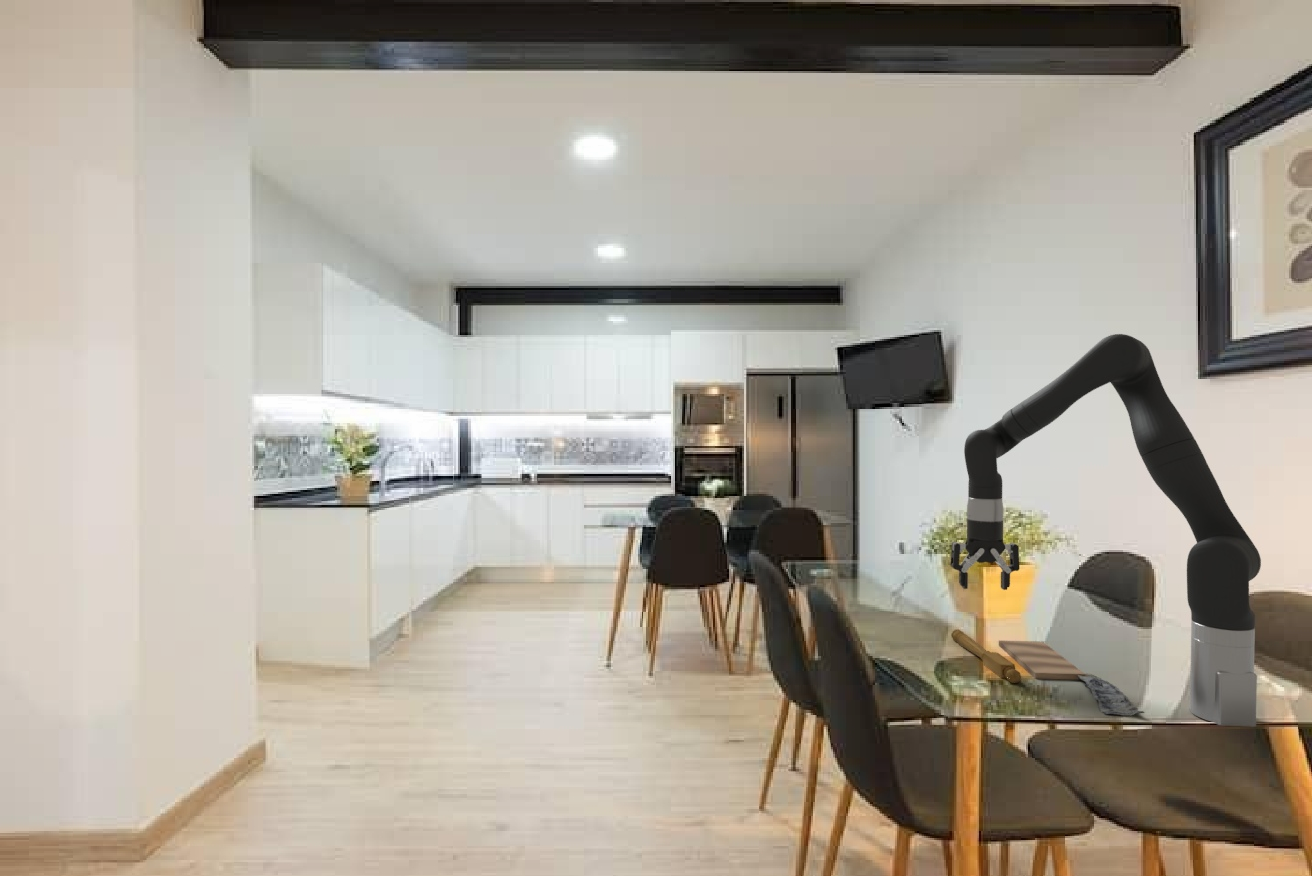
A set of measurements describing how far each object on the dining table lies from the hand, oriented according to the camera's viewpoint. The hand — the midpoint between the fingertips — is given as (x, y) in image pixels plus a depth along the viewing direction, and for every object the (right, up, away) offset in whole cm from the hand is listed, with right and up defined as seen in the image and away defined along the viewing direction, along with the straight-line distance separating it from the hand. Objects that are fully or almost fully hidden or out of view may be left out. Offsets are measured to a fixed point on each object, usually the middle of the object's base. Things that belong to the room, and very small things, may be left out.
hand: (984, 588), depth 166 cm
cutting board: (+12, -16, -1) cm, 20 cm away
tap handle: (0, -17, 0) cm, 17 cm away
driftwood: (+14, -17, -21) cm, 31 cm away
